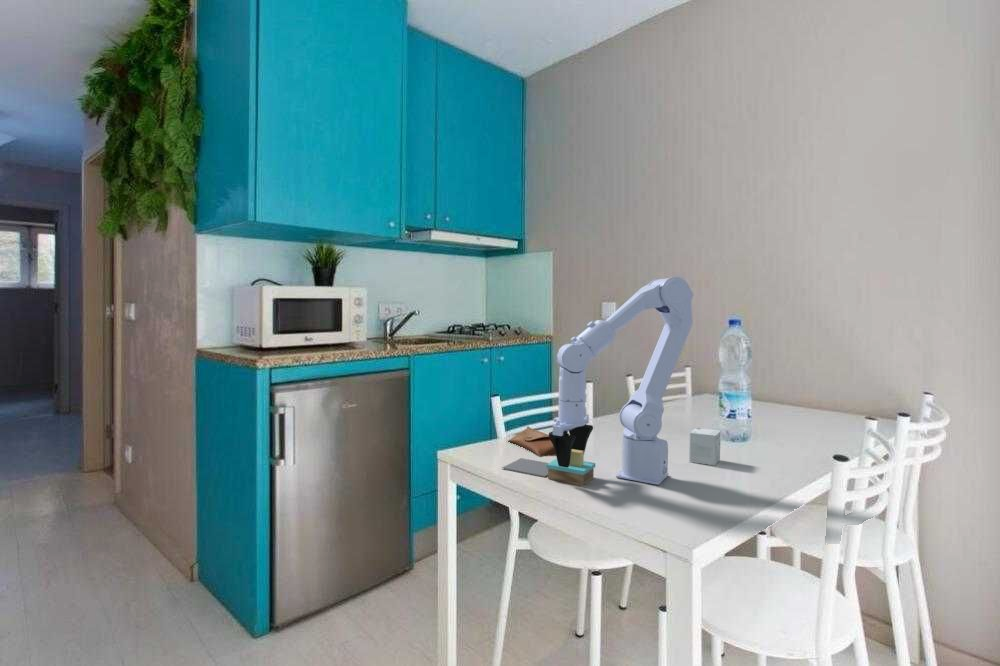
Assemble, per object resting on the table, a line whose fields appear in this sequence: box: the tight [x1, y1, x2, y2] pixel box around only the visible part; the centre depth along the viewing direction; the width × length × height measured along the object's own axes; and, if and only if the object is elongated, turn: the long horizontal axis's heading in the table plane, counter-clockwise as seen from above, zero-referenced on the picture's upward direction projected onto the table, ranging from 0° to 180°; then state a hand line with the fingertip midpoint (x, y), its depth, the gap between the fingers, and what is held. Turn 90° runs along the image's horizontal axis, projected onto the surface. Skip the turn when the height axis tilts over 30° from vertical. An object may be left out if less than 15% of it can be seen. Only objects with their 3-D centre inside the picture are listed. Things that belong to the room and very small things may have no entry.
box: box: [547, 467, 595, 486], centre depth 115 cm, size 8×6×2 cm
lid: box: [546, 449, 596, 475], centre depth 115 cm, size 9×7×4 cm
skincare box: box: [688, 427, 721, 467], centre depth 129 cm, size 6×6×7 cm
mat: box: [501, 457, 549, 478], centre depth 122 cm, size 11×9×1 cm
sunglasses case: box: [507, 426, 556, 458], centre depth 141 cm, size 18×7×7 cm, turn 30°
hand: (571, 461), depth 115 cm, fingers open, 7 cm apart
